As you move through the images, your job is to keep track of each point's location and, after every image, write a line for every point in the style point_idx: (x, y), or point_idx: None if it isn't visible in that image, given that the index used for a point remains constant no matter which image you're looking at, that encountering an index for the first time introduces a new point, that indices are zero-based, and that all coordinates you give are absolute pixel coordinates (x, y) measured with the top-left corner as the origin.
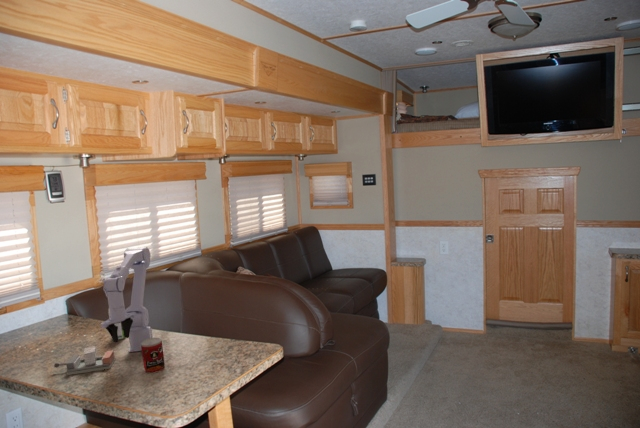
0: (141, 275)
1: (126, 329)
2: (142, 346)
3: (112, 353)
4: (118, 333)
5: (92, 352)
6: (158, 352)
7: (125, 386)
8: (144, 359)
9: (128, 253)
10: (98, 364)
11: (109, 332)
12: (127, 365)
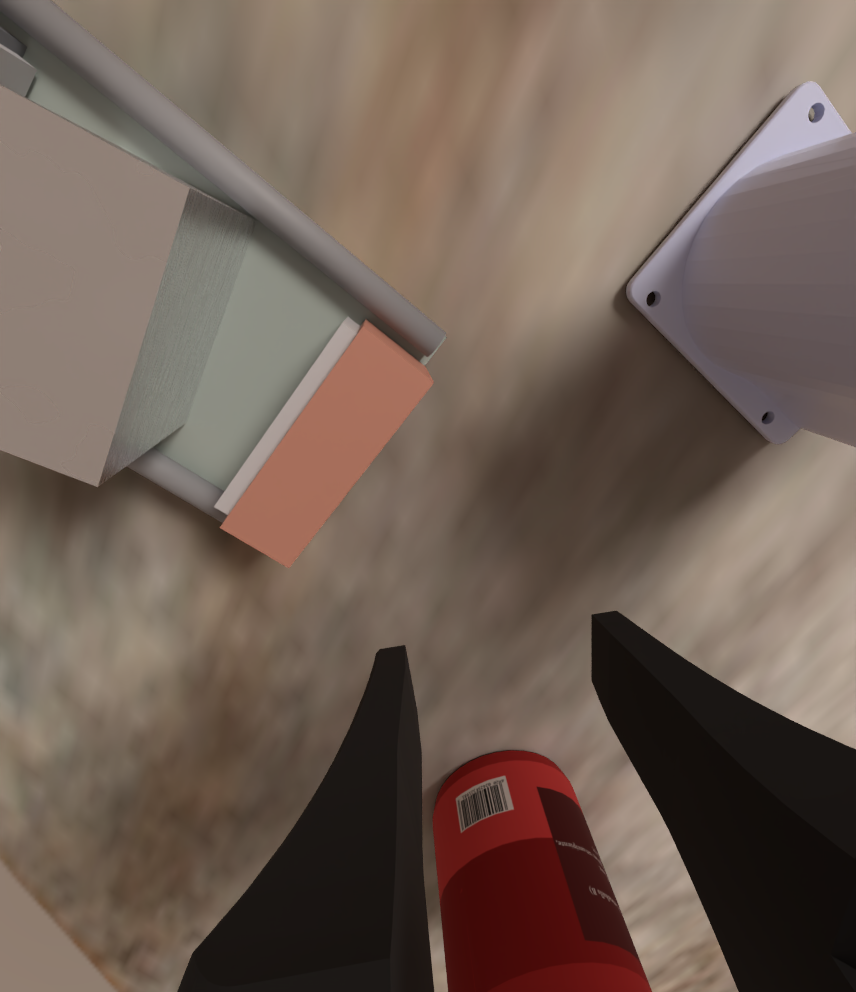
0: None
1: (674, 804)
2: None
3: (387, 437)
4: None
5: (66, 474)
6: None
7: (243, 874)
8: (441, 916)
9: None
10: (218, 389)
11: (312, 816)
12: (423, 599)
